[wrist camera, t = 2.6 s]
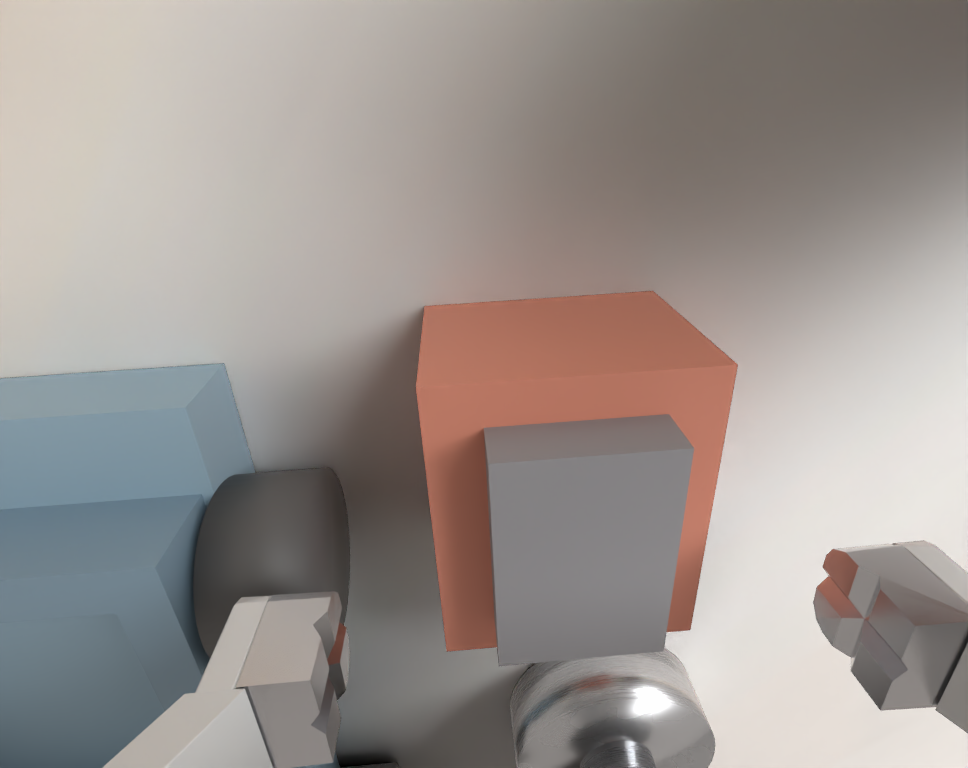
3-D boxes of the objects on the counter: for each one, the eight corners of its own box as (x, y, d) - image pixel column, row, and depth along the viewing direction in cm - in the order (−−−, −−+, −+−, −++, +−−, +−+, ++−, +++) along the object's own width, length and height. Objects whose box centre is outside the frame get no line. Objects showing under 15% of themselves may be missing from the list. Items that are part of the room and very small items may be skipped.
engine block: (424, 304, 12) (412, 420, 7) (651, 288, 12) (772, 395, 8) (446, 519, 15) (446, 699, 10) (631, 504, 15) (711, 674, 10)
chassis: (-352, 401, 12) (-708, 533, 8) (315, 357, 12) (262, 460, 8) (39, 867, 21) (-47, 1026, 17) (411, 830, 21) (404, 976, 18)
